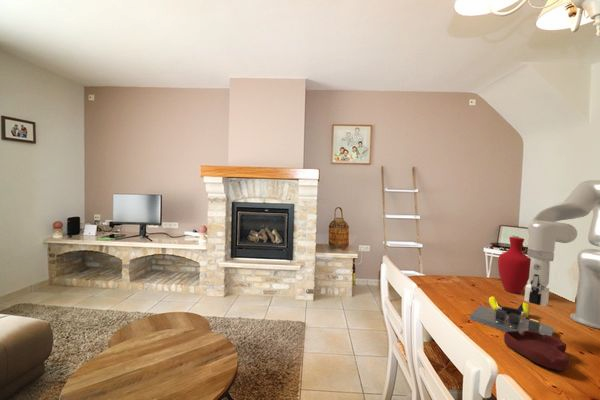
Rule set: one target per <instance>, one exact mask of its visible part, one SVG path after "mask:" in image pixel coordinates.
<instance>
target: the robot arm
mask: <svg viewBox="0 0 600 400" xmlns="http://www.w3.org/2000/svg"><path fill="white" fill-rule="evenodd" d="M591 212H592V218H591V222H590V227H589V230H588V236H587V240H588V243H589V244H590V245H591V246H595V247H599V248H600V179H596V180H595V179H594V180H593V179H590V180H589V179H588V180H584V181H582V182H580V183H579V184H577V186H575V188H574V189H573V190H572V191H571V193H570V194H569V195H568V196H567V197H566V198H565V199H564V201H562V202H559V203H557V204H554V205H552V206H548V207H546V208H544V209H542V210H540V211H539V212H538V213H537V214H535V216H534V217H533V218H532V219H531V220H530V222H529V224H528V226H527V233H528V245H527V253H526V254H527V255H526V256H527V257H528V258H530V259H531V262H530V272H529V280H528V283H529V284H531V290H530V295H529V302H528V303H530V304H534V305H538V306H541V305H540V302H541V294H540V292H541V286H542V287H544V288H545V287H546V288H548V287H547V286H548V285H549V284H550V269H551V268H550V265H551V263H550V262H554V259H555V258H554V257H555V248H556V243H561V244H569V243H572V242H574V241H575V240H576V238H577V237H578V230H577V229H576V227H575V226H574V225H572V224H570V223H565V222H559V221H568V220H574V219H579V218H584V217H587V216H589V214H590V213H591ZM576 258H577V265H578V266H577V267H578V283H577V291H576V292H577V294H576V303H575V312H573V313H569V314H570V315H569V318H570V319H571V320H573V321H575V322H576V323H578V324H581V325H584V326H587V327H591V328H593V329H598V330H600V249H595V248H586V249H585V248H584V249H582V250H580V251H578V253H577V257H576ZM537 287H539V289H538V288H537Z"/></svg>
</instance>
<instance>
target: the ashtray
mask: <svg viewBox="0 0 600 400" xmlns="http://www.w3.org/2000/svg"><path fill="white" fill-rule="evenodd" d="M503 340H504V344H505V345H506V346H507V347H508V348H510V349H511V350H513V351H515V352H516V353H518V354H520V355H523V356H524V357H525V358H527V359H529V360H530V361H532V362H534V363H536V364H538V365H541V366H543V367H546V368H547V369H548V370H550V371H552V372H555V371H556V373H559V372H560V371H565V370H567V369H568V368H569V367H570V363H571V362H570V357H569V355H568V354H566V353H565V352H566V350H567V344H566V343H564V342H563V340H561V339H560V338H559V337H557V336H549V335H541V334H540V333H539V332H535V331H523V332H522V333H521V334H519V331H509V332H505V331H504V335H503Z"/></svg>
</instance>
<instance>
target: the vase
mask: <svg viewBox="0 0 600 400" xmlns="http://www.w3.org/2000/svg"><path fill="white" fill-rule="evenodd" d="M524 241H525V238H523V237H517V236H509V243H510V247H509V250H507V251H505V252H502V253H501V254H500V255H499V256H498V258H497V266H498V273H499V278H500V281H501V283H502V286H503V289H504V291H506V292H507V293H511V294H518V295H519V294H521V293H522V291H523V290H524V289H525V287H526V286H527V284H528V283H529V272H530V262H531V258H528V257H527V255H526V254H525V253H524V252H523V250H522V247H523V245H524Z"/></svg>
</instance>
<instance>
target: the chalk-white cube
mask: <svg viewBox="0 0 600 400" xmlns="http://www.w3.org/2000/svg"><path fill="white" fill-rule="evenodd" d="M537 288H538V289H539V287H537ZM530 290H531V284H529V282H527V284H526V285H525V287H524V300H523V301H524V302H526V303H530V302H529V295H530ZM540 294H541V302H540V305H539V306H542V307H546V306H547V305H548V303H549V296H550V288H549V287H545V288H544V287H542V286H541V292H540Z"/></svg>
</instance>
